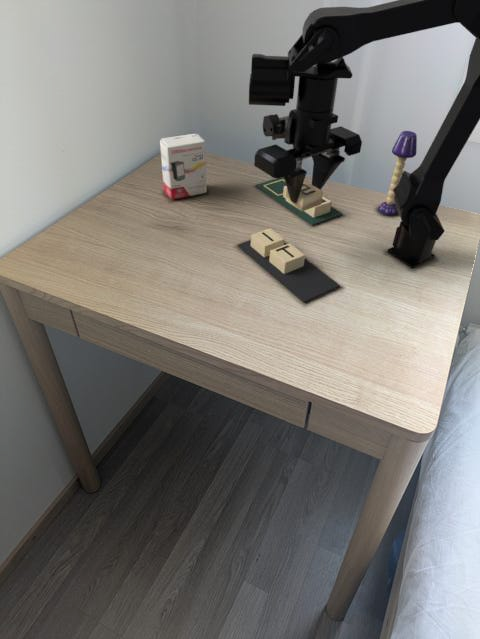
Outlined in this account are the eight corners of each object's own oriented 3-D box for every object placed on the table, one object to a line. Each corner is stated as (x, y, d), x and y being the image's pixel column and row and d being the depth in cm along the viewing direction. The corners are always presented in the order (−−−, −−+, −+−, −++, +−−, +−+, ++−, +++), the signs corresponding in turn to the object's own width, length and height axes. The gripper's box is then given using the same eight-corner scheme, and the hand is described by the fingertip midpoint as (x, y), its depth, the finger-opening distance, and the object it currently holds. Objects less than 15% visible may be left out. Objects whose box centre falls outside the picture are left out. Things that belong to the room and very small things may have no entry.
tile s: (321, 204, 86) (323, 190, 84) (302, 211, 84) (303, 197, 82) (304, 194, 89) (306, 180, 87) (285, 200, 87) (286, 187, 85)
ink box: (170, 201, 106) (166, 148, 98) (163, 191, 110) (158, 138, 102) (208, 193, 109) (206, 141, 101) (199, 183, 113) (197, 132, 105)
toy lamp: (379, 203, 108) (397, 127, 96) (401, 207, 106) (422, 130, 95) (376, 213, 104) (394, 136, 93) (398, 218, 103) (420, 139, 92)
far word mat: (341, 215, 104) (343, 202, 101) (312, 225, 100) (314, 212, 98) (283, 177, 116) (284, 165, 114) (255, 186, 112) (256, 174, 110)
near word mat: (339, 287, 85) (342, 273, 83) (304, 303, 82) (306, 289, 80) (271, 234, 98) (272, 220, 96) (237, 246, 94) (237, 232, 92)
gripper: (324, 82, 84) (313, 168, 95) (235, 101, 76) (233, 193, 87) (372, 101, 78) (354, 191, 88) (280, 125, 70) (272, 221, 80)
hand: (304, 198), depth 86 cm, fingers closed on tile s, 4 cm apart
